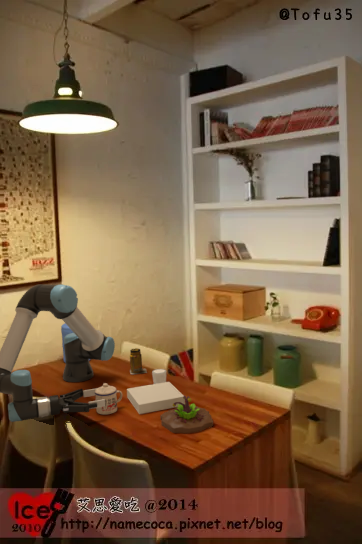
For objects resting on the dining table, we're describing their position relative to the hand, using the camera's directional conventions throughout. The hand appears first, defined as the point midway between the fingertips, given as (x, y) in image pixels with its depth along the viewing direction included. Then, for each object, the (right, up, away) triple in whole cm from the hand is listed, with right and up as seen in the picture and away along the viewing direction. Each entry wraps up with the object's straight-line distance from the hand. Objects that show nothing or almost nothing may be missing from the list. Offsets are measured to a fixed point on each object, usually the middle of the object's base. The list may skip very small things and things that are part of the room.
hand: (101, 396), depth 199 cm
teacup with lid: (+3, -6, +2) cm, 7 cm away
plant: (+36, -7, -12) cm, 38 cm away
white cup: (+23, -2, +29) cm, 37 cm away
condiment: (+11, 0, +50) cm, 51 cm away
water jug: (-26, +1, +74) cm, 79 cm away
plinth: (+22, -4, +9) cm, 24 cm away
